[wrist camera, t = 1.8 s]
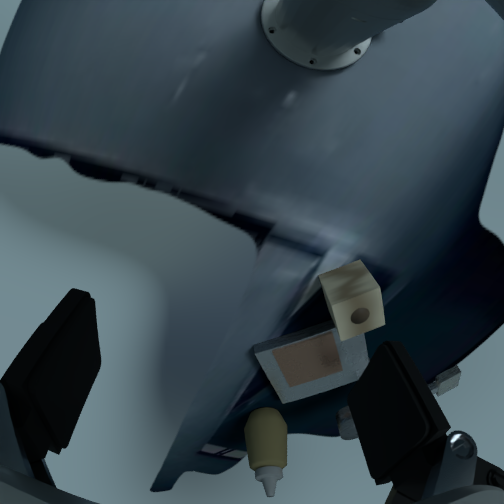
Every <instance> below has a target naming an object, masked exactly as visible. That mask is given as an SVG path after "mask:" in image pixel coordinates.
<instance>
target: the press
mask: <svg viewBox="0 0 504 504" xmlns="http://www.w3.org/2000/svg"><path fill="white" fill-rule="evenodd" d="M254 352H255V356H256V357H257V359H258V361H259V363H260V364H261V366H262V368H263V370H264V372H265V373H266V375H267V377H268V379H269V380H270V382H271V384H272V386H273V387H274V389H275V391H276V393H277V394H278V396H279V398H280V399H281V401H282V403H283V404H284V403H287V402H291V401H295V400H298V399H302V398H305V397H309V396H312V395H315V394H318V393H322V392H325V391H328V390H331V389H334V388H337V387H340V386H343V385H346V384H348V383H351V382H354V381H358V380H359V378H360V376H361V375H362V373H363V372H364V370H365V368H366V367H367V365H368V363H369V362H370V359H369V358H368V354H367V348H366V342H365V336H364V333H362V334H360V335H357V336H355V337H352V338H349V339H347V340H344V341H341V340H340V337H339V335H338V332H337V329H336V327H335V324H334V322H333V319H331V320H328V321H326V322H323V323H320V324H317V325H314V326H311V327H308V328H305V329H303V330H300V331H297V332H293V333H290V334H287V335H284V336H281V337H278V338H275V339H271V340H268V341H265V342H262V343H258V344H255V345H254Z"/></svg>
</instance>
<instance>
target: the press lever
mask: <svg viewBox="0 0 504 504" xmlns="http://www.w3.org/2000/svg"><path fill="white" fill-rule="evenodd" d="M460 375H461V371H460V369H459V368H458V366H457V365H456V366H454V367H452V368H451V369H449V370H447V371H445V372H443V373H441V374H439V375H437V376H436V380H435V382H433V383H431V384H429V385H428V387H429V389H430V390H431V392H432V394H435V393H436V394H437V396H440V395H441V394H444V393H445V392H447V391H449V390H451V389H453V388H455V387H456V386H458V383H459V379H460ZM336 420H337V424H338V428H339V432H340V436H341V438H342V439H344V440H351V439H355V438H358V434H357V431H356V428H355V424H354V421H353V418H352V415H351V412H350V409H349V406H346V407H344V408H342V409H340V410H339V411H338V412H337V413H336Z"/></svg>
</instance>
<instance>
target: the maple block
mask: <svg viewBox="0 0 504 504" xmlns="http://www.w3.org/2000/svg"><path fill="white" fill-rule="evenodd" d="M318 276H319V279H320V282H321V286H322V289H323V292H324V296H325V299H326V302H327V306H328V309H329V312H330V314H331V317H332V319H333V322H334V324H335V327H336V329H337V332H338V335H339V337H340V340H341V341H344V340H347V339H349V338H352V337H355V336H357V335H360V334H362V333H365V332H368V331H370V330H373V329H375V328H378V327H380V326H382V325H385V319H384V311H383V304H382V297H381V290H380V286H379V285H378V284H377V282H376V281H375V279H374V278H373V277H372V275H371V274H370V272H369V271H368V270H367V268H366V267H365V266H364V264H363V263H362V262H361V260H358V261H355V262H353V263H350V264H348V265H345V266H342V267H339V268H337V269H334V270H331V271H329V272H326V273H323V274H320V275H318Z"/></svg>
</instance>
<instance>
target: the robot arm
mask: <svg viewBox="0 0 504 504" xmlns="http://www.w3.org/2000/svg"><path fill="white" fill-rule="evenodd" d="M485 1H486V2H487V3H488V4H489V5H490V6H491V7H492V8H493V9H494V10H495V11H496V12H497V13H498V15H499V16H500V17H501V18H502V19H503V20H504V0H485ZM435 2H436V0H264V2H263V5H262V10H261V23H262V28H263V31H264V33H265V36H266V38H267V39H268V41H269V42H270V44H271V45H272V46H273V47H274V48H275V49H276V51H277V52H278V53H280V54H281V55H282V56H284V57H285V58H286V59H288V60H289V61H291V62H293V63H295V64H297V65H300V66H302V67H305V68H309V69H314V70H324V71H330V70H337V69H341V68H344V67H347V66H349V65H351V64H353V63H355V62H356V61H357V60H359V59H360V58H361V57H362V56H363V55H364V54H365V53H366V51H367V49H368V47H369V45H370V43H371V39H372V37H373V36H374V35H376V34H378V33H380V32H382V31H384V30H386V29H388V28H390V27H392V26H394V25H396V24H398V23H402V22H403V21H404V20H406V19H408V18H410V17H412V16H414V15H416V14H418V13H420V12H422V11H424V10H426V9H428V8H429V7H430V6H432V5H433V4H434V3H435ZM269 31H273V32H274V33H273V34H271V33H270V32H269ZM354 51H356V53H357V54H355V53H354ZM309 61H313V64H310V63H309ZM100 367H101V354H100V347H99V339H98V330H97V319H96V308H95V300H94V299H93V298H91V296H90V293H89V292H86V291H82V290H78V289H75V288H72V289H71V290H70V291H69V292H68V293H67V294H66V296H65V297H64V298H63V299H62V300H61V301H60V303H59V304H58V305H57V306H56V308H55V309H54V310H53V311H52V313H51V314H50V315H49V316H48V318H47V319H46V320H45V321H44V322H43V323H42V324H40V326H39V327H38V328H37V329H36V331H35V332H34V333H33V334H32V336H31V337H30V338H29V340H28V341H27V343H26V344H25V345H24V347H23V348H22V349H21V351H20V352H19V353H18V355H17V356H16V358H15V359H14V360H13V362H12V363H11V365H10V366H9V368H8V369H7V371H6V372H5V374H4V375H3V377H2V378H1V380H0V504H99V503H95V502H92V501H89V500H86V499H84V498H81V497H78V496H75V495H72V494H70V493H67V492H65V491H62V490H60V489H57V488H56V485H55V483H54V481H53V479H52V476H51V474H50V472H49V469H48V467H47V465H46V462H45V459H44V458H45V457H46V454H47V452H48V450H49V451H52V452H54V453H56V454H60V452H61V449H62V448H66V447H67V446H68V444H69V441H70V439H71V436H72V434H73V431H74V429H75V426H76V424H77V421H78V419H79V416H80V414H81V411H82V408H83V406H84V404H85V402H86V399H87V397H88V395H89V392H90V390H91V388H92V385H93V383H94V381H95V379H96V377H97V374H98V372H99V370H100ZM347 402H348V406H349V409H350V412H351V415H352V418H353V421H354V424H355V428H356V431H357V434H358V437H359V440H360V443H361V446H362V450H363V453H364V456H365V459H366V462H367V466H368V469H369V472H370V475H371V477H372V478H373V479H375V483H376V485H380V484H385V483H389V482H390V481H392V483H393V487H392V489H391V491H390V493H389V496H388V498H387V500H386V502H385V504H504V471H503V470H502V469H501V468H499V467H497V466H495V465H493V464H491V463H489V462H487V461H485V460H483V459H481V458H479V457H478V456H477V446H476V443H475V442H474V440H473V439H472V437H471V436H470V435H468V434H467V433H465V432H463V431H454V432H451V434H449V435H448V436H447V435H446V432H447V431H448V430H449V429H450V428H451V427H450V425H449V423H448V421H447V419H446V417H445V416H444V414H443V412H442V410H441V408H440V407H439V405H438V403H437V401H436V399H435V397H434V396H433V394H432V392H431V390H430V389H429V387H428V385H427V383H426V382H425V380H424V378H423V377H422V375H421V373H420V372H419V370H418V368H417V367H416V365H415V363H414V362H413V360H412V358H411V357H410V355H409V354H408V352H407V350H406V349H405V347H404V346H403V344H402V343H401V342H399V341H385V342H383V344H382V345H380V346H379V347H378V348H377V350H376V351H375V353H374V355H373V357H372V358H371V360H370V362H369V363H368V365H367V367H366V368H365V370H364V372H363V373H362V375H361V376H360V378H359V380H358V381H357V383H356V384H355V386H354V387H353V389H352V390H351V392H350V393H349V395H348V400H347Z"/></svg>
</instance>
